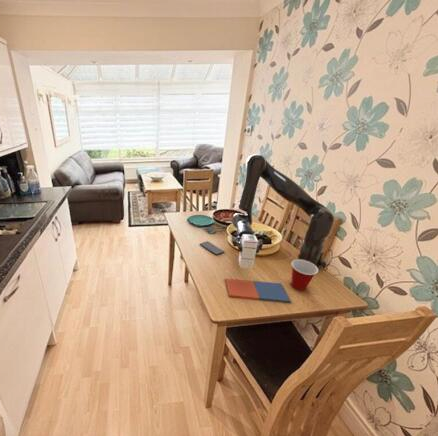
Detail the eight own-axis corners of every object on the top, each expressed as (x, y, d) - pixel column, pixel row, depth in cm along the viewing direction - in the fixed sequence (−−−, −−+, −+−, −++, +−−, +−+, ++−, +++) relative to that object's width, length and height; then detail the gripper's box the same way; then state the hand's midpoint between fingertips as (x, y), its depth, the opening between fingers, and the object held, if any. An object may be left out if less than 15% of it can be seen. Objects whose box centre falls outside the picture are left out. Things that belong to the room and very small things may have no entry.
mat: (280, 285, 116) (281, 283, 115) (290, 302, 105) (290, 301, 104) (225, 280, 119) (225, 278, 119) (229, 296, 108) (229, 295, 108)
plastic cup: (286, 290, 112) (292, 269, 107) (284, 277, 121) (290, 257, 116) (313, 297, 108) (320, 275, 103) (309, 283, 117) (316, 262, 112)
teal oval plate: (204, 215, 195) (204, 212, 194) (228, 230, 169) (228, 227, 168) (183, 219, 188) (183, 216, 187) (204, 235, 163) (205, 232, 162)
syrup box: (253, 269, 107) (259, 241, 101) (239, 267, 108) (244, 239, 102) (250, 261, 112) (256, 234, 106) (237, 260, 113) (242, 233, 107)
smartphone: (207, 241, 154) (224, 251, 142) (207, 242, 154) (224, 252, 142) (199, 243, 151) (216, 254, 139) (199, 244, 151) (216, 255, 139)
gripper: (231, 225, 119) (233, 241, 104) (262, 228, 116) (268, 245, 101) (229, 238, 122) (230, 255, 107) (259, 241, 119) (265, 260, 104)
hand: (249, 250), depth 104 cm, fingers closed on syrup box, 6 cm apart
